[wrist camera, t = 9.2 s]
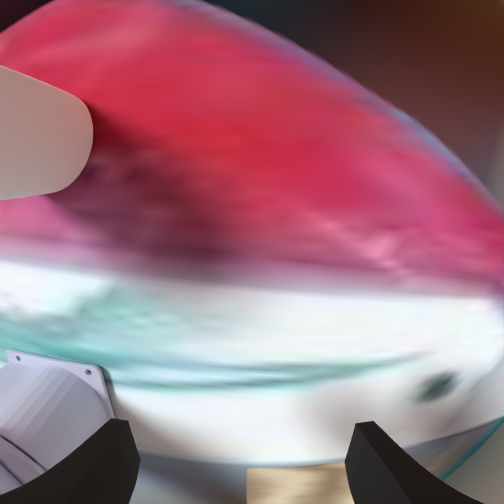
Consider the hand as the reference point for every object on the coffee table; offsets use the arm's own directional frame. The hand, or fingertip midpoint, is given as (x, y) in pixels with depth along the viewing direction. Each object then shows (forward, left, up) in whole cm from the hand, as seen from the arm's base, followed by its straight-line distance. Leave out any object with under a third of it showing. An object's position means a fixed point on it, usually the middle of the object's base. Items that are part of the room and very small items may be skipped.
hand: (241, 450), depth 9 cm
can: (-12, +11, -11) cm, 19 cm away
